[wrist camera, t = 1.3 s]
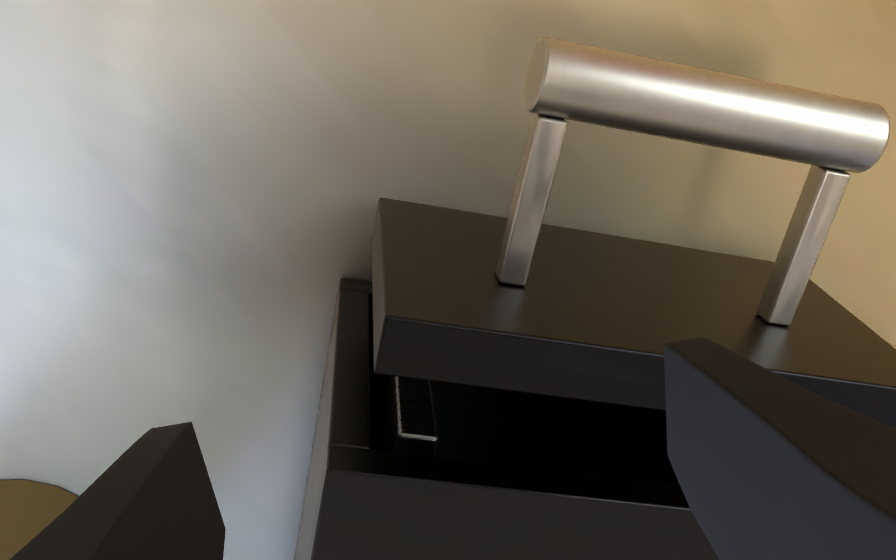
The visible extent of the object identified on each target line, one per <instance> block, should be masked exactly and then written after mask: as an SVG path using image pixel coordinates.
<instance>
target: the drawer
mask: <svg viewBox="0 0 896 560" xmlns="http://www.w3.org/2000/svg"><path fill="white" fill-rule="evenodd" d="M525 104H526V109H527V110H528V111H529V112H531V113H534V114H533V116H532V121H531V125H530V129H529V133H528V137H527V141H526V145H525V150H524V154H523V158H522V162H521V166H520V170H519V175H518V179H517V183H516V187H515V191H514V195H513V199H512V204H511V208H510V212H509V216H508V218H503V217H496V216H490V215H484V214H478V213H472V212H466V211H460V210H454V209H448V208H441V207H435V206H429V205H423V204H417V203H411V202H405V201H399V200H393V199H386V198H379V200H378V205H377V211H376V217H375V222H374V228H373V234H372V292H373V348H374V372H375V377H374V382H373V387H372V393H371V398H370V449H373V450H381V451H390V452H399V453H408V454H417V455H425V456H434V457H443V458H452V459H461V460H469V461H478V462H487V463H496V464H505V465H514V466H522V467H531V468H540V469H549V470H558V471H566V472H575V473H584V474H593V475H602V476H610V477H619V478H628V479H637V480H646V481H654V482H663V483H672V484H679V482H678V479H677V477H676V474H675V472H674V469H673V467H672V464H671V462H670V459H669V457H668V454H667V425H666V394H665V364H664V344H665V343H671V342H677V341H683V340H689V339H695V338H701V337H704V338H707V339H709V340H711V341H713V342H716V343H718V344H720V345H722V346H724V347H726V348H728V349H730V350H732V351H733V352H735V353H737V354H739V355H741V356H743V357H745V358H747V359H749V360H751V361H753V362H754V363H756V364H758V365H760V366H762V367H764V368H766V369H768V370H770V371H772V372H774V373H776V374H777V375H779V376H781V377H783V378H785V379H787V380H789V381H791V382H793V383H795V384H797V385H799V386H801V387H803V388H805V389H807V390H809V391H811V392H813V393H815V394H818V395H820V396H822V397H824V398H826V399H828V400H830V401H833V402H835V403H837V404H839V405H841V406H844V407H846V408H848V409H851V410H853V411H855V412H858V413H860V414H862V415H864V416H867V417H869V418H871V419H874V420H876V421H879V422H881V423H884V424H886V425H889V426H891V427H894V428H896V349H895V348H893V347H892V346H891V345H890V344H888V343H887V342H886V341H885V340H883V339H882V338H881V337H880V336H879V335H877V334H876V333H875V332H874V331H872V330H871V329H870V328H869V327H867V326H866V325H865V324H864V323H863V322H861V321H860V320H859V319H858V318H856V317H855V316H854V315H853V314H851V313H850V312H849V311H848V310H847V309H845V308H844V307H843V306H842V305H840V304H839V303H838V302H837V301H835V300H834V299H833V298H832V297H831V296H829V295H828V294H827V293H826V292H824V291H823V290H822V289H821V288H819V287H818V286H817V285H816V284H814V283H813V282H812V281H811V280H810V279H809V278H810V276H811V273H812V271H813V268H814V266H815V263H816V261H817V259H818V256H819V254H820V251H821V249H822V246H823V244H824V241H825V239H826V236H827V234H828V231H829V229H830V226H831V224H832V221H833V219H834V216H835V214H836V211H837V209H838V206H839V204H840V201H841V199H842V196H843V194H844V191H845V189H846V186H847V184H848V181H849V179H850V174H848V173H847V172H845V171H848V172H853V173H860V172H864V171H866V170H868V169H870V168H871V167H872V166H873V165H874V164H875V163H876V162H877V161H878V160H879V159H880V157H881V156H882V154H883V152H884V150H885V148H886V145H887V142H888V138H889V133H890V121H889V117H888V114H887V112H886V110H885V109H884V108H883V107H881V106H880V105H878V104H874V103H869V102H864V101H859V100H854V99H849V98H845V97H840V96H835V95H830V94H825V93H820V92H815V91H810V90H805V89H800V88H795V87H790V86H785V85H780V84H775V83H770V82H765V81H760V80H756V79H751V78H746V77H741V76H736V75H731V74H726V73H721V72H716V71H711V70H706V69H701V68H696V67H691V66H686V65H681V64H676V63H671V62H667V61H662V60H657V59H652V58H647V57H642V56H637V55H632V54H627V53H622V52H617V51H612V50H607V49H602V48H597V47H592V46H587V45H582V44H578V43H573V42H568V41H563V40H558V39H553V38H548V37H545V38H542V39H541V40H540V41H539V43H538V44H537V46H536V48H535V50H534V53H533V56H532V59H531V62H530V66H529V70H528V75H527V80H526V88H525ZM565 119H568V120H574V121H579V122H585V123H590V124H595V125H601V126H606V127H611V128H617V129H622V130H627V131H633V132H638V133H644V134H649V135H654V136H660V137H665V138H670V139H676V140H681V141H687V142H692V143H697V144H703V145H708V146H713V147H719V148H724V149H730V150H735V151H740V152H746V153H751V154H756V155H762V156H767V157H772V158H778V159H783V160H789V161H794V162H799V163H805V164H810V165H811V168H810V171H809V173H808V176H807V179H806V181H805V184H804V186H803V189H802V192H801V194H800V197H799V200H798V202H797V205H796V207H795V210H794V213H793V215H792V218H791V221H790V223H789V226H788V228H787V231H786V234H785V236H784V239H783V242H782V244H781V247H780V249H779V252H778V255H777V257H776V260H775V262H771V261H765V260H759V259H753V258H747V257H741V256H735V255H728V254H722V253H716V252H710V251H704V250H698V249H692V248H686V247H680V246H673V245H667V244H661V243H655V242H649V241H643V240H637V239H631V238H625V237H619V236H612V235H606V234H600V233H594V232H588V231H582V230H576V229H570V228H564V227H557V226H551V225H545V224H542V222H543V218H544V214H545V210H546V206H547V202H548V199H549V195H550V191H551V187H552V183H553V179H554V175H555V172H556V168H557V164H558V160H559V156H560V152H561V148H562V145H563V141H564V137H565V133H566V129H567V121H566V120H565Z"/></svg>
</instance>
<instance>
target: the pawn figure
mask: <svg viewBox="0 0 896 560" xmlns="http://www.w3.org/2000/svg"><path fill="white" fill-rule="evenodd" d="M77 498H78V496H76V495H74V494H72V493H70V492H68V491H66V490H63V489H61V488H59V487H56V486H52V485H47V484H42V483H38V482H33V481H28V480H0V560H9V559H11V558H12V557H13V556H14V555H15V554H16V553H17V552H18V551H20V550H21V549H22V548H23V547H24V546H25V545H26V544H28V543H29V542H30V541H31V540H32V539H33V538H34V537H35V536H37V535H38V534H39V533H40V532H41V531H42V530H43V529H44V528H46V527H47V526H48V525H49V524H50V523H51V522H52V521H53V520H55V519H56V518H57V517H58V516H59V515H60V514H61V513H62V512H63V511H64V510H66V509H67V508H68V507H69V506H70V505H71V504H72V503H73V502H74V501H75V500H76V499H77Z"/></svg>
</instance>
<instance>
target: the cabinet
mask: <svg viewBox="0 0 896 560" xmlns="http://www.w3.org/2000/svg"><path fill="white" fill-rule="evenodd" d="M374 377H375V372H374V348H373V292H372V282H369V281H362V280H355V279H348V278H340V280H339V287H338V293H337V299H336V305H335V311H334V317H333V323H332V329H331V336H330V342H329V348H328V354H327V360H326V366H325V372H324V378H323V385H322V391H321V397H320V403H319V409H318V415H317V421H316V427H315V433H314V440H313V446H312V452H311V458H310V464H309V470H308V476H307V482H306V489H305V495H304V501H303V507H302V513H301V519H300V525H299V531H298V538H297V544H296V550H295V556H294V560H720V559H719V558H718V556H717V554H716V553H715V551H714V549H713V547H712V546H711V544H710V542H709V541H708V539H707V537H706V535H705V534H704V532H703V530H702V529H701V527H700V525H699V523H698V522H697V520H696V518H695V516H694V515H693V513H692V511H691V509H690V507H689V505H688V502H687V500H686V498H685V496H684V493H683V491H682V489H681V486H680V484H672V483H663V482H654V481H646V480H637V479H628V478H619V477H610V476H602V475H593V474H584V473H575V472H566V471H558V470H549V469H540V468H531V467H522V466H514V465H505V464H496V463H487V462H478V461H469V460H461V459H452V458H443V457H434V456H425V455H417V454H408V453H399V452H390V451H381V450H373V449H370V398H371V393H372V387H373V382H374Z"/></svg>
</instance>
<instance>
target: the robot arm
mask: <svg viewBox="0 0 896 560" xmlns="http://www.w3.org/2000/svg"><path fill="white" fill-rule="evenodd" d="M664 364H665V394H666V425H667V454H668V457H669V459H670V462H671V464H672V467H673V469H674V472H675V474H676V477H677V479H678V482H679V484H680V486H681V489H682V491H683V493H684V496H685V498H686V500H687V502H688V505H689V507H690V509H691V511H692V513H693V515H694V516H695V518H696V520H697V522H698V523H699V525H700V527H701V529H702V530H703V532H704V534H705V535H706V537H707V539H708V541H709V542H710V544H711V546H712V547H713V549H714V551H715V553H716V554H717V556H718V558H719V559H720V560H896V428H894V427H891V426H889V425H886V424H884V423H881V422H879V421H876V420H874V419H871V418H869V417H867V416H864V415H862V414H860V413H858V412H855V411H853V410H851V409H848V408H846V407H844V406H841V405H839V404H837V403H835V402H833V401H830V400H828V399H826V398H824V397H822V396H820V395H818V394H815V393H813V392H811V391H809V390H807V389H805V388H803V387H801V386H799V385H797V384H795V383H793V382H791V381H789V380H787V379H785V378H783V377H781V376H779V375H777V374H776V373H774V372H772V371H770V370H768V369H766V368H764V367H762V366H760V365H758V364H756V363H754V362H753V361H751V360H749V359H747V358H745V357H743V356H741V355H739V354H737V353H735V352H733V351H732V350H730V349H728V348H726V347H724V346H722V345H720V344H718V343H716V342H713V341H711V340H709V339H707V338H704V337H701V338H695V339H689V340H683V341H677V342H671V343H665V344H664ZM224 540H225V526H224V523H223V520H222V516H221V513H220V510H219V507H218V504H217V501H216V497H215V494H214V491H213V488H212V485H211V482H210V478H209V475H208V472H207V469H206V466H205V463H204V459H203V456H202V453H201V450H200V447H199V444H198V440H197V437H196V434H195V431H194V428H193V425H192V422H188V423H182V424H176V425H170V426H164V427H158V428H152V429H150V430H149V431H148V432H146V433H145V434H144V435H143V436H142V437H141V438H139V439H138V440H137V441H136V442H135V443H134V444H133V445H132V446H131V447H130V448H129V449H128V450H127V451H126V452H124V453H123V454H122V455H121V456H120V457H119V458H118V459H117V460H116V461H115V462H114V463H113V464H112V465H111V466H110V467H109V468H108V469H107V470H106V471H105V472H104V473H103V474H102V475H101V476H100V477H99V478H98V479H97V480H96V481H95V482H94V483H93V484H92V485H91V486H89V487H88V488H87V489H86V490H85V491H84V492H83V493H82V494H81V495H80V496H79V497H78V498H77V499H76V500H75V501H74V502H73V503H72V504H71V505H70V506H69V507H68V508H67V509H66V510H64V511H63V512H62V513H61V514H60V515H59V516H58V517H57V518H56V519H55V520H53V521H52V522H51V523H50V524H49V525H48V526H47V527H46V528H44V529H43V530H42V531H41V532H40V533H39V534H38V535H37V536H35V537H34V538H33V539H32V540H31V541H30V542H29V543H28V544H26V545H25V546H24V547H23V548H22V549H21V550H20V551H18V552H17V553H16V554H15V555H14V556H13V557H12V558H11V559H9V560H223V552H224Z"/></svg>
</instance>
